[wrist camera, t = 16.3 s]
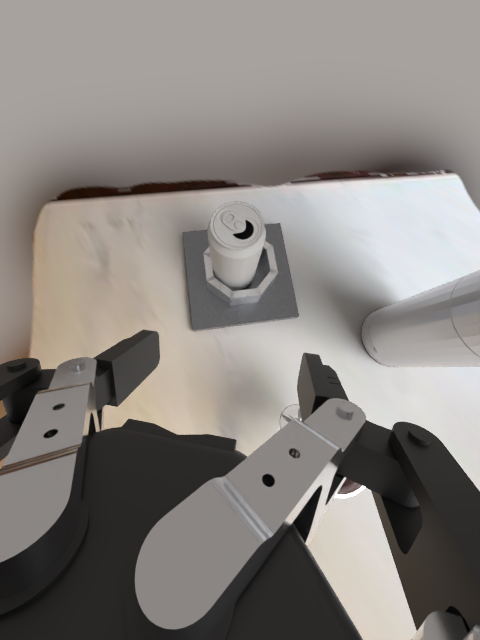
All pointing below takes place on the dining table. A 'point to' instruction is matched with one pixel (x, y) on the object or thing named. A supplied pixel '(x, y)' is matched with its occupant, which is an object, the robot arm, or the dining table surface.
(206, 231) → the collar stand
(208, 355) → the dining table surface
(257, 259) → the beverage can
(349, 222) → the dining table surface
